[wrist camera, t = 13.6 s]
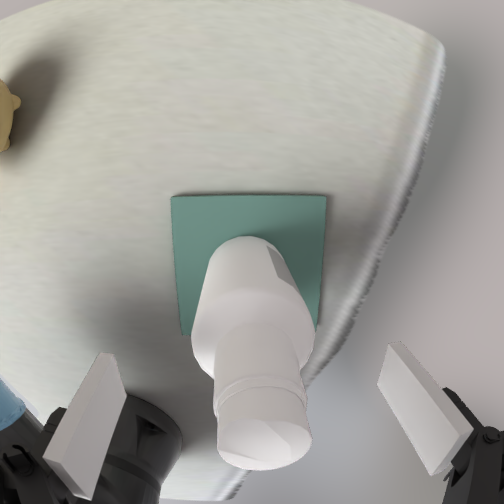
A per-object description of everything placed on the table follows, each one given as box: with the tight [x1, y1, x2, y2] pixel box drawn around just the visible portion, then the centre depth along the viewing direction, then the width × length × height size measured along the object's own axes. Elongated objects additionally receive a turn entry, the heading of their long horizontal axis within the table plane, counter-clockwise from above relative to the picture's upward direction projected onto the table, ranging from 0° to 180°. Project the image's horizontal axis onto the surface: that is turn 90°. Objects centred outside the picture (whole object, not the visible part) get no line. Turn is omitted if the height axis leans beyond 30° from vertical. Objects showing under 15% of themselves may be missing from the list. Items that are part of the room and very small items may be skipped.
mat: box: [171, 195, 326, 335], centre depth 27 cm, size 13×13×1 cm
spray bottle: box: [191, 236, 315, 470], centre depth 17 cm, size 7×7×18 cm
